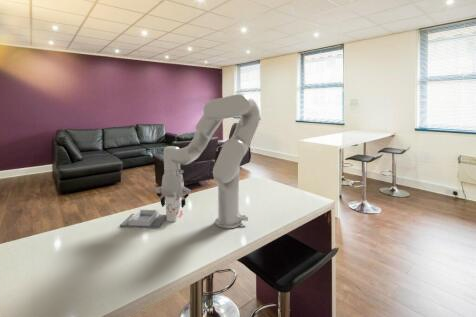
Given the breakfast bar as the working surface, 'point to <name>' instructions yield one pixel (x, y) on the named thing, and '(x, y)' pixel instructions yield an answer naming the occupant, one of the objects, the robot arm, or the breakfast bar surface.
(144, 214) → the board
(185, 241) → the breakfast bar surface
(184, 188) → the robot arm
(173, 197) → the ink cartridge box
